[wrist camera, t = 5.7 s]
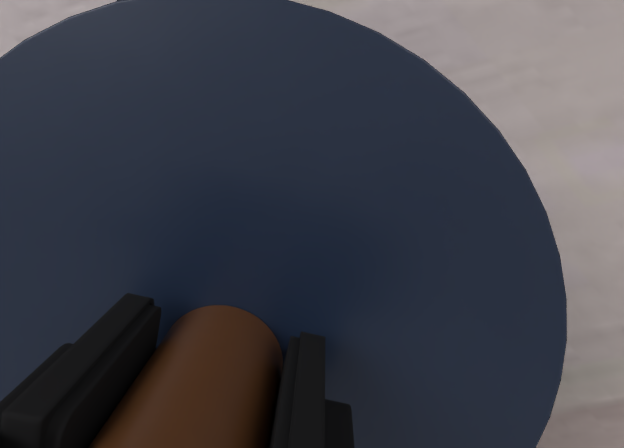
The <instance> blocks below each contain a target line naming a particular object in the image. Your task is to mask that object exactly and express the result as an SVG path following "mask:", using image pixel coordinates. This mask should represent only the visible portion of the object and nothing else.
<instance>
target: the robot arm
mask: <svg viewBox="0 0 624 448" xmlns="http://www.w3.org/2000/svg"><path fill="white" fill-rule="evenodd" d="M160 319H161V307H159V306H154V299H153V298H149V297H145V296H140V295H136V294H131V293H127V294H125V295H124V296H123V297H122V298H121V299H120V300H119V301H118V302H117V303H116V304H115V305H114V306H112V307H111V308H110V309H109V310H108V311H107V312H106V313H105V314H104V315H103V316H102V317H101V318H100V319H99V320H98V321H97V322H96V323H95V324H94V325H93V326H92V327H91V328H89V329H88V330H87V331H86V332H85V333H84V334H83V335H82V336H81V337H80V338H79V339H78V340H77V341H76V342H75V343H74V344H72V343H66V344H64V345H62V346H61V347H59V348H58V349H57V350H56V351H55V352H54V353H53V354H52V355H51V356H49V357H48V358H47V359H46V360H45V361H44V362H43V363H42V364H41V365H40V366H39V367H37V368H36V369H35V370H34V371H33V372H32V373H31V374H30V375H29V376H28V377H27V378H26V379H24V380H23V381H22V382H21V383H20V384H19V385H18V386H17V387H16V388H15V389H14V390H12V391H11V392H10V393H9V394H8V395H7V396H6V397H5V398H4V399H3V400H2V401H1V402H0V448H88V447H89V446H90V444H91V443H92V441H93V440H94V438H95V437H96V436H97V434H98V433H99V431H100V430H101V428H102V427H103V425H104V424H105V422H106V421H107V420H108V418H109V417H110V415H111V414H112V412H113V411H114V409H115V408H116V407H117V405H118V404H119V402H120V401H121V399H122V398H123V396H124V395H125V393H126V392H127V391H128V389H129V388H130V386H131V385H132V383H133V382H134V380H135V379H136V378H137V376H138V375H139V373H140V372H141V370H142V369H143V367H144V366H145V364H146V363H147V362H148V360H149V359H150V357H151V356H152V354H153V353H154V351H155V350H156V345H157V338H158V332H159V325H160ZM325 340H326V339H325V337H324V336H320V335H315V334H311V333H306V332H302V331H301V334H300V338H299V337H294V336H290V340H289V344H288V348H287V352H286V357H285V361H284V365H283V369H282V373H281V377H280V382H279V388H278V394H277V400H276V406H275V412H274V418H273V423H272V429H271V435H270V441H269V447H268V448H354V435H353V422H352V410H351V406H350V404H346V403H341V402H337V401H332V400H328V399H325Z"/></svg>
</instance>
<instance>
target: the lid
mask: <svg viewBox="0 0 624 448" xmlns="http://www.w3.org/2000/svg"><path fill="white" fill-rule="evenodd" d="M127 293H131V294H136V295H140V296H145V297H149V298H153V299H154V306H159V307H161V319H160V325H159V332H158V338H157V345H156V350H155V351H154V353H153V354H152V356H151V357H150V359H149V360H148V362H147V363H146V364H145V366H144V367H143V369H142V370H141V372H140V373H139V375H138V376H137V378H136V379H135V380H134V382H133V383H132V385H131V386H130V388H129V389H128V391H127V392H126V393H125V395H124V396H123V398H122V399H121V401H120V402H119V404H118V405H117V407H116V408H115V409H114V411H113V412H112V414H111V415H110V417H109V418H108V420H107V421H106V422H105V424H104V425H103V427H102V428H101V430H100V431H99V433H98V434H97V436H96V437H95V438H94V440H93V441H92V443H91V444H90V446H89V447H88V448H268V447H269V441H270V435H271V429H272V423H273V418H274V412H275V406H276V400H277V394H278V388H279V382H280V377H281V373H282V369H283V365H284V361H285V357H286V352H287V348H288V344H289V340H290V336H294V337H299V338H300V334H301V331H302V332H306V333H311V334H315V335H320V336H324V337H325V339H326V340H325V399H328V400H332V401H337V402H341V403H346V404H350V406H351V410H352V422H353V435H354V448H536V446H537V444H538V442H539V440H540V438H541V435H542V433H543V431H544V429H545V427H546V425H547V422H548V420H549V418H550V415H551V411H552V408H553V405H554V401H555V398H556V395H557V391H558V388H559V385H560V381H561V375H562V369H563V362H564V355H565V348H566V341H567V314H566V293H565V286H564V280H563V273H562V267H561V260H560V254H559V251H558V248H557V245H556V242H555V238H554V235H553V232H552V229H551V226H550V222H549V219H548V216H547V213H546V211H545V208H544V206H543V204H542V202H541V200H540V198H539V196H538V194H537V192H536V190H535V188H534V186H533V184H532V182H531V180H530V177H529V175H528V173H527V171H526V169H525V168H524V167H523V165H522V164H521V162H520V161H519V159H518V158H517V156H516V155H515V153H514V152H513V150H512V149H511V147H510V146H509V144H508V143H507V142H506V140H505V139H504V137H503V136H502V134H501V133H500V131H499V130H498V129H497V128H496V127H495V125H494V124H493V123H492V122H491V121H490V120H489V119H488V118H487V117H486V116H485V115H484V113H483V112H482V111H481V110H480V109H479V108H478V107H477V106H476V105H475V104H474V103H473V101H472V100H471V99H470V98H469V97H468V96H467V95H466V94H465V93H464V92H463V91H462V90H461V89H459V88H458V87H457V86H456V85H454V84H453V83H452V82H451V81H450V80H448V79H447V78H446V77H445V76H443V75H442V74H441V73H440V72H439V71H437V70H436V69H435V68H434V67H432V66H431V65H430V64H429V63H428V62H426V61H425V60H424V59H422V58H420V57H419V56H417V55H415V54H414V53H412V52H410V51H409V50H407V49H405V48H404V47H402V46H400V45H399V44H397V43H396V42H394V41H392V40H391V39H389V38H387V37H386V36H384V35H382V34H381V33H379V32H377V31H374V30H372V29H370V28H367V27H365V26H363V25H360V24H358V23H356V22H353V21H351V20H349V19H346V18H344V17H342V16H339V15H337V14H334V13H332V12H330V11H326V10H323V9H319V8H315V7H311V6H308V5H304V4H300V3H297V2H293V1H289V0H120V1H116V2H113V3H110V4H107V5H104V6H101V7H98V8H95V9H92V10H89V11H86V12H83V13H80V14H77V15H74V16H71V17H68V18H66V19H64V20H62V21H60V22H58V23H57V24H55V25H53V26H51V27H49V28H47V29H45V30H43V31H41V32H39V33H37V34H35V35H33V36H31V37H29V38H27V39H25V40H24V41H22V42H21V43H20V44H18V45H17V46H16V47H14V48H13V49H11V50H10V51H9V52H7V53H6V54H5V55H3V56H2V57H1V58H0V402H1V401H2V400H3V399H4V398H5V397H6V396H7V395H8V394H9V393H10V392H11V391H12V390H14V389H15V388H16V387H17V386H18V385H19V384H20V383H21V382H22V381H23V380H24V379H26V378H27V377H28V376H29V375H30V374H31V373H32V372H33V371H34V370H35V369H36V368H37V367H39V366H40V365H41V364H42V363H43V362H44V361H45V360H46V359H47V358H48V357H49V356H51V355H52V354H53V353H54V352H55V351H56V350H57V349H58V348H59V347H61V346H62V345H64V344H66V343H72V344H74V343H75V342H76V341H77V340H78V339H79V338H80V337H81V336H82V335H83V334H84V333H85V332H86V331H87V330H88V329H89V328H91V327H92V326H93V325H94V324H95V323H96V322H97V321H98V320H99V319H100V318H101V317H102V316H103V315H104V314H105V313H106V312H107V311H108V310H109V309H110V308H111V307H112V306H114V305H115V304H116V303H117V302H118V301H119V300H120V299H121V298H122V297H123V296H124V295H125V294H127Z"/></svg>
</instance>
